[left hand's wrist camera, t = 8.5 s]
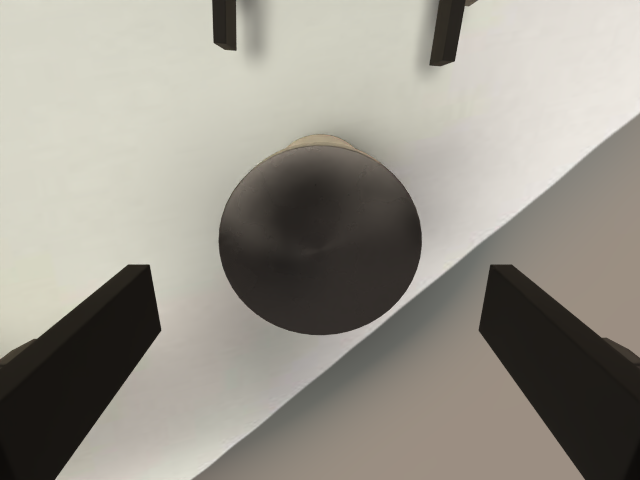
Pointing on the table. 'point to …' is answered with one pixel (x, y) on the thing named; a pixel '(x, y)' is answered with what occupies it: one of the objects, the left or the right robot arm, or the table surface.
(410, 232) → the lid
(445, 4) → the right robot arm
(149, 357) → the table surface
